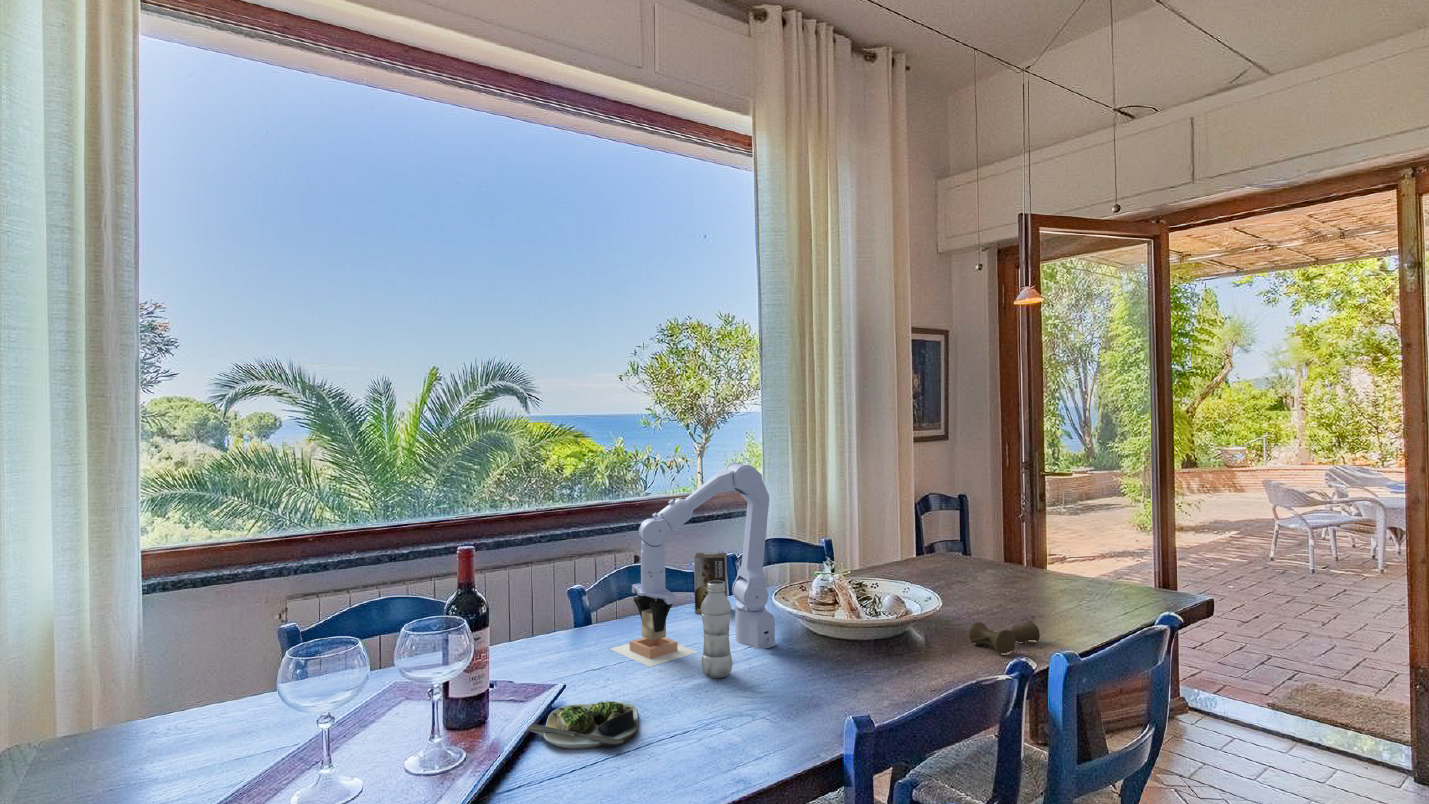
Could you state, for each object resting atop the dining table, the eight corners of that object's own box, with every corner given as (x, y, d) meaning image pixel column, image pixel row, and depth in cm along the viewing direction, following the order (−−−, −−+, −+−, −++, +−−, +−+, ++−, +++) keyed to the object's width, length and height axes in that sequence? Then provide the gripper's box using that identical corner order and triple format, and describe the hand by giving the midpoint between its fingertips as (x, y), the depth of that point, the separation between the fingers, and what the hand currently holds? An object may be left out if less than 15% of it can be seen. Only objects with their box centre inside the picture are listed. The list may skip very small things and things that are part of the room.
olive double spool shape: (1049, 649, 166) (987, 660, 158) (1017, 639, 175) (956, 648, 167) (1049, 624, 166) (986, 633, 158) (1016, 615, 175) (955, 623, 167)
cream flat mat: (698, 656, 162) (698, 651, 162) (649, 671, 152) (649, 666, 152) (656, 639, 173) (656, 635, 174) (609, 652, 164) (609, 648, 164)
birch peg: (665, 636, 163) (665, 611, 163) (652, 640, 160) (652, 614, 160) (655, 632, 166) (655, 607, 166) (641, 636, 163) (641, 610, 163)
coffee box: (728, 608, 202) (727, 552, 202) (726, 614, 195) (725, 556, 196) (696, 607, 203) (696, 552, 203) (694, 613, 196) (693, 556, 196)
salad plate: (519, 760, 114) (519, 731, 114) (536, 713, 132) (536, 689, 132) (637, 753, 116) (637, 725, 116) (638, 708, 134) (638, 684, 134)
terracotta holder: (677, 650, 163) (677, 641, 163) (649, 658, 157) (649, 649, 157) (656, 642, 169) (656, 634, 169) (629, 650, 163) (629, 641, 163)
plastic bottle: (729, 682, 145) (729, 586, 146) (698, 680, 147) (697, 585, 147) (735, 671, 152) (734, 579, 152) (704, 669, 153) (704, 578, 153)
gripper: (621, 568, 166) (621, 625, 166) (658, 578, 155) (658, 639, 155) (645, 563, 171) (645, 619, 170) (682, 573, 160) (682, 633, 160)
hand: (653, 628), depth 163 cm, fingers closed on birch peg, 4 cm apart
